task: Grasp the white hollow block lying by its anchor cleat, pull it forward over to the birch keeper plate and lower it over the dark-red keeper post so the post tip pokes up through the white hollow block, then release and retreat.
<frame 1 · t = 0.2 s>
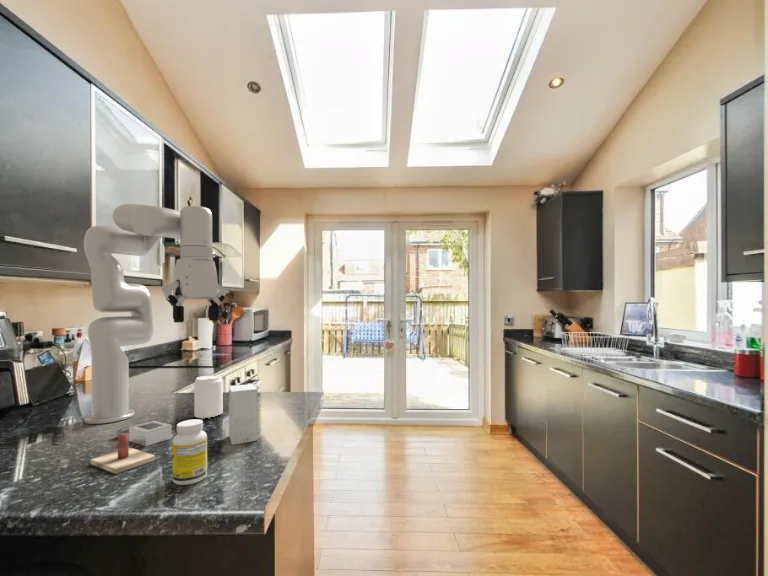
hand: (197, 321, 99), 30 cm above the counter, fingers open, 9 cm apart
beverage can: (208, 416, 121), on the counter
keeper: (123, 462, 86), on the counter
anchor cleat: (132, 434, 105), on the counter
white hollow block: (150, 439, 100), on the counter
pill bottle: (190, 479, 77), on the counter
small box: (243, 439, 100), on the counter
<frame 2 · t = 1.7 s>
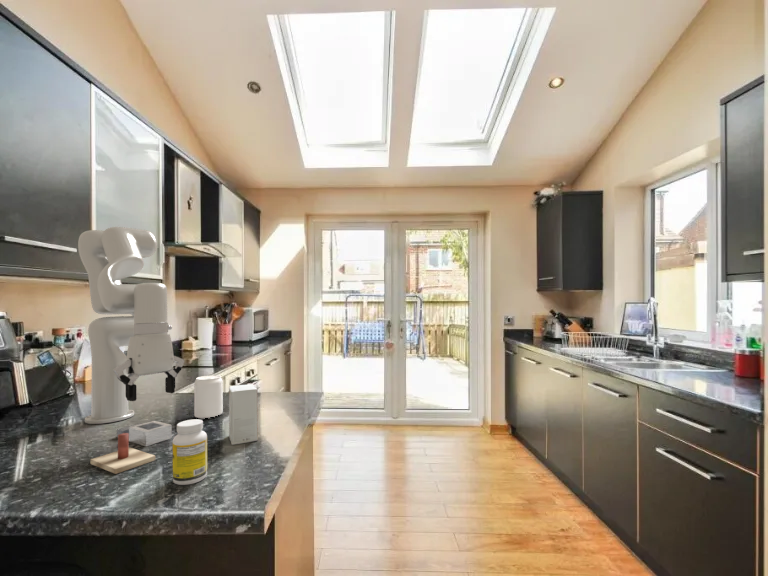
hand: (151, 396, 100), 11 cm above the counter, fingers open, 9 cm apart
nothing on the counter moved.
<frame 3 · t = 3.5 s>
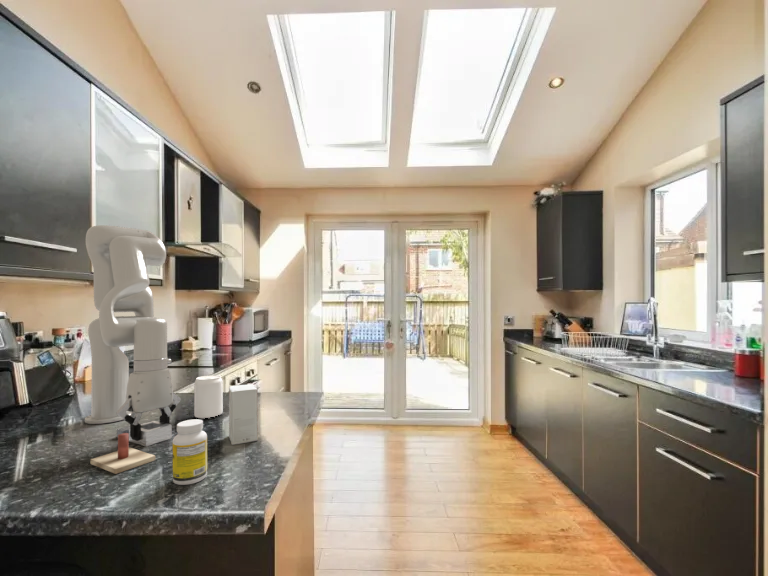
hand: (150, 434, 100), 1 cm above the counter, fingers closed on white hollow block, 6 cm apart
white hollow block: (150, 439, 100), on the counter, touching gripper
everything else where it was.
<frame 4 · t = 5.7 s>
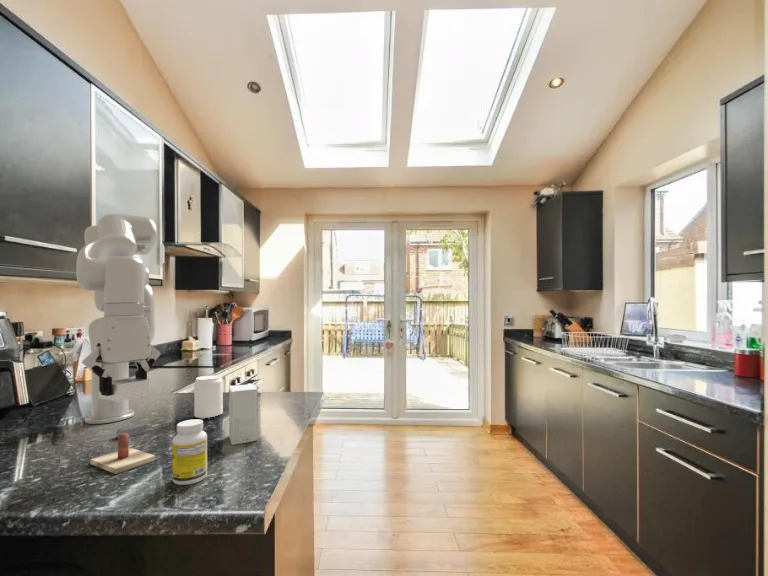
hand: (124, 391, 87), 16 cm above the counter, fingers closed on white hollow block, 6 cm apart
white hollow block: (124, 396, 87), point 14 cm above the counter, touching gripper
everything else where it was.
when the fingers open (5 cm above the counter, at t = 8.3 s): white hollow block drops 2 cm, resting on keeper.
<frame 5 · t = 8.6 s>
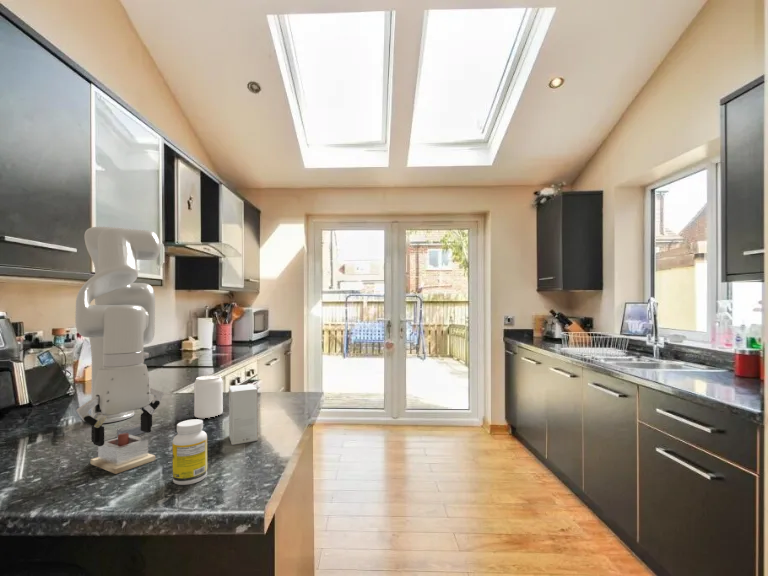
hand: (123, 437, 86), 5 cm above the counter, fingers open, 9 cm apart
white hollow block: (123, 457, 86), point 1 cm above the counter, touching keeper
everything else where it was.
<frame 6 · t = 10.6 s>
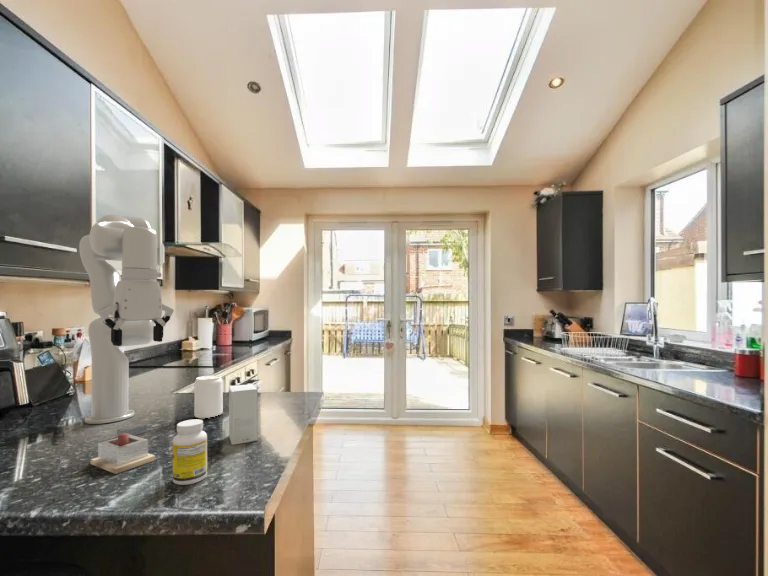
hand: (138, 343, 98), 25 cm above the counter, fingers open, 9 cm apart
nothing on the counter moved.
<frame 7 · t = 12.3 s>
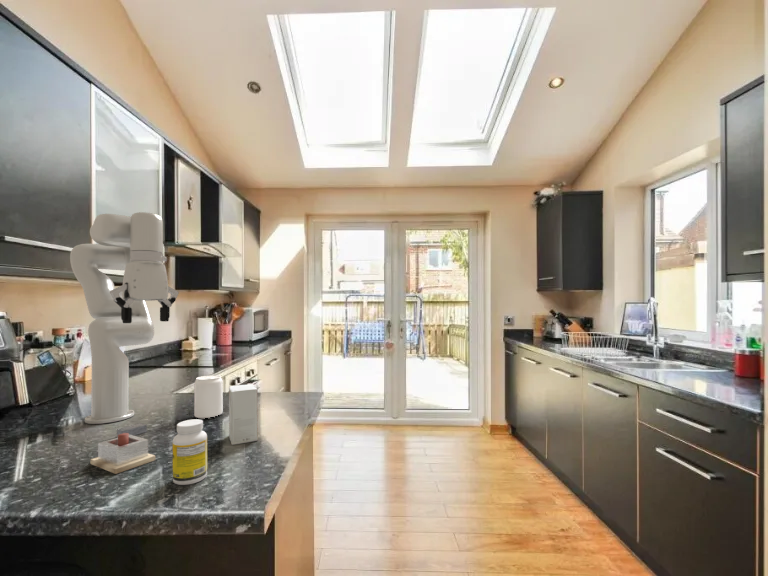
hand: (146, 322, 104), 30 cm above the counter, fingers open, 9 cm apart
nothing on the counter moved.
at the end: white hollow block 0.0 cm off-centre on the keeper, point 1.0 cm above the keeper's base; the gripper is holding nothing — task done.
